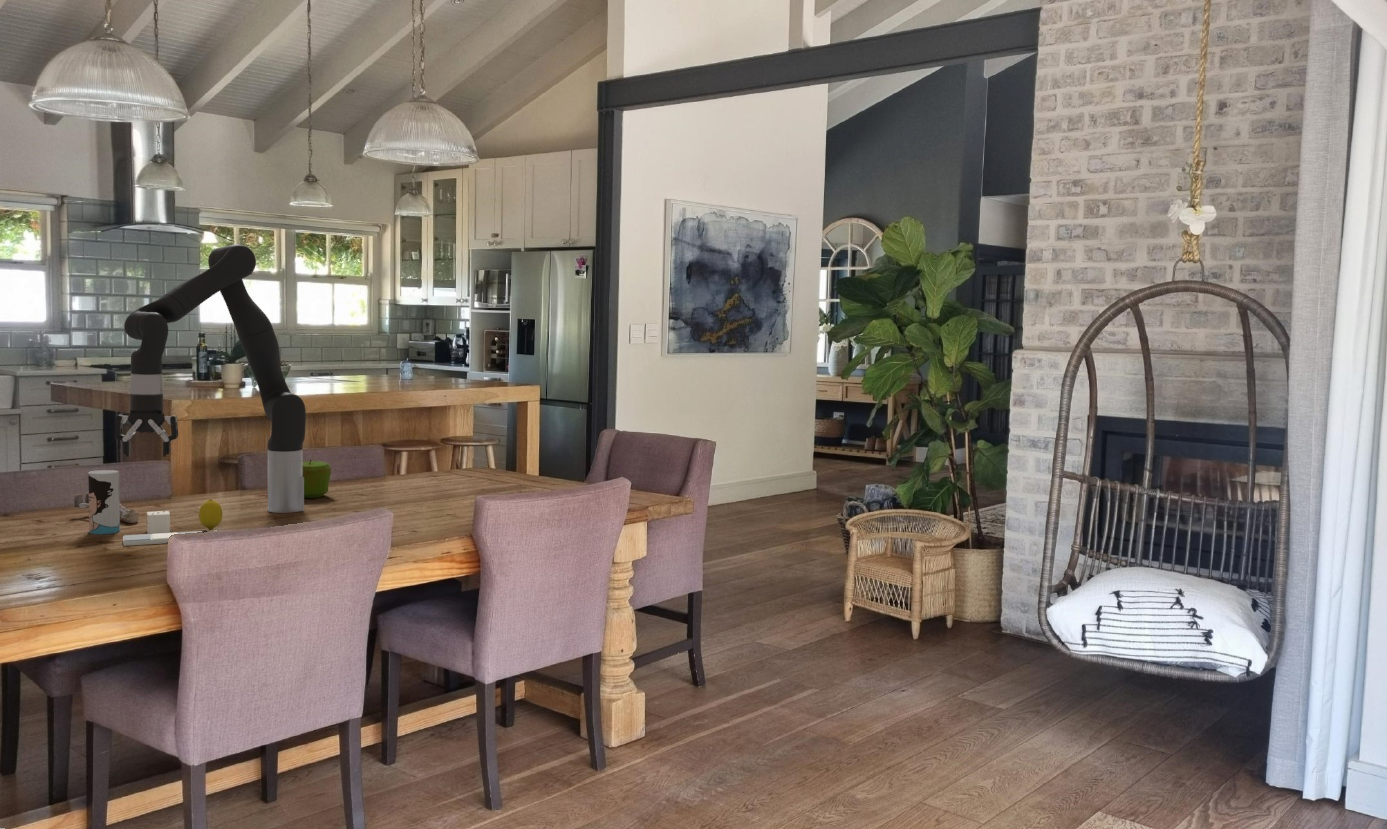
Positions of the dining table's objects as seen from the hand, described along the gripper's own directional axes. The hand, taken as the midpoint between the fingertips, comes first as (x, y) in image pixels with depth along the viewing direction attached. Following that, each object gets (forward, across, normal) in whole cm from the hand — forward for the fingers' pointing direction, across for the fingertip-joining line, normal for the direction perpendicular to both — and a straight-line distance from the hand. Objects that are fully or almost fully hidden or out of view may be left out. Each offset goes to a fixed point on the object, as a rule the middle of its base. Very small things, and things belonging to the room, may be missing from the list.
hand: (146, 456), depth 284 cm
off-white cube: (+19, -3, +4) cm, 19 cm away
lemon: (+19, -15, +2) cm, 24 cm away
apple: (+19, -36, -49) cm, 63 cm away
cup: (+19, +10, +1) cm, 21 cm away
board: (+19, -10, +13) cm, 25 cm away
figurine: (+19, +12, -16) cm, 27 cm away
